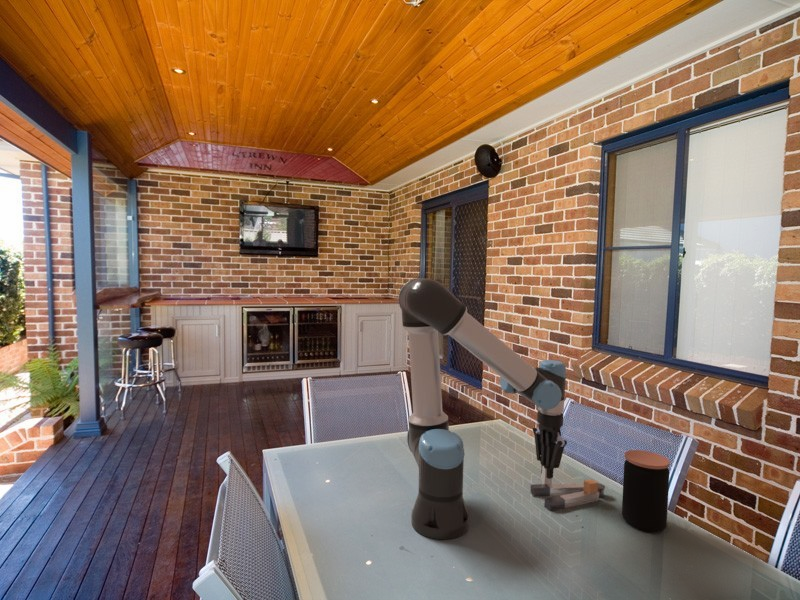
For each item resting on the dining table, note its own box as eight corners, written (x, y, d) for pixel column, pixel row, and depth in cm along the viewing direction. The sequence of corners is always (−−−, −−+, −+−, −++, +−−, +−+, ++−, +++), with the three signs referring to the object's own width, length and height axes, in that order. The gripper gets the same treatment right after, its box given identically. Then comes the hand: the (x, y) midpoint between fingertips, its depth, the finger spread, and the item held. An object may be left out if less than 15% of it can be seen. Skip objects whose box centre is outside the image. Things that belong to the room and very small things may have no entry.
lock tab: (591, 488, 135) (591, 479, 135) (597, 492, 133) (598, 482, 132) (583, 490, 134) (583, 480, 134) (589, 494, 131) (590, 484, 131)
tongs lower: (598, 491, 139) (598, 482, 138) (609, 498, 134) (610, 488, 134) (539, 503, 131) (540, 493, 131) (550, 511, 127) (550, 501, 126)
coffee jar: (655, 513, 126) (658, 450, 125) (674, 535, 116) (678, 467, 114) (615, 511, 127) (618, 448, 126) (631, 532, 117) (634, 464, 116)
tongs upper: (585, 491, 139) (586, 483, 139) (589, 494, 136) (590, 486, 136) (530, 492, 137) (530, 484, 137) (533, 496, 135) (533, 488, 135)
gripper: (575, 417, 133) (571, 494, 134) (546, 404, 144) (542, 475, 146) (555, 419, 130) (550, 498, 131) (526, 406, 142) (523, 479, 143)
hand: (546, 486), depth 139 cm, fingers closed
